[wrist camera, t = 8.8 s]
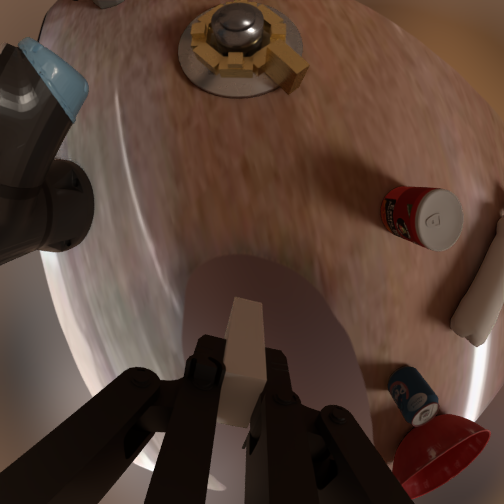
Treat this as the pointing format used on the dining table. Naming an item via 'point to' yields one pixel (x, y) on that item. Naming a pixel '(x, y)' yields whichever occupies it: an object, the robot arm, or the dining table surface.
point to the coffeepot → (106, 3)
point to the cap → (235, 49)
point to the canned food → (423, 216)
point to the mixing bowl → (437, 453)
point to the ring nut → (266, 60)
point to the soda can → (413, 396)
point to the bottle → (483, 295)
